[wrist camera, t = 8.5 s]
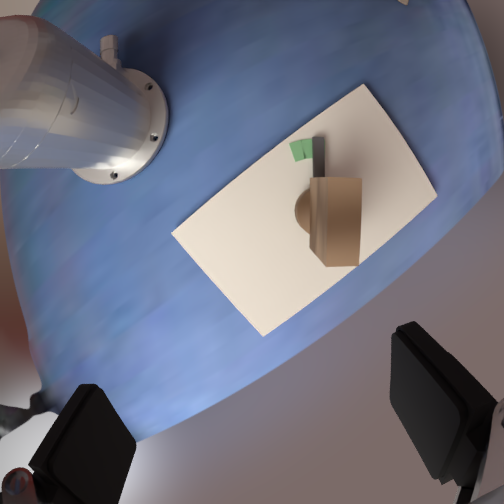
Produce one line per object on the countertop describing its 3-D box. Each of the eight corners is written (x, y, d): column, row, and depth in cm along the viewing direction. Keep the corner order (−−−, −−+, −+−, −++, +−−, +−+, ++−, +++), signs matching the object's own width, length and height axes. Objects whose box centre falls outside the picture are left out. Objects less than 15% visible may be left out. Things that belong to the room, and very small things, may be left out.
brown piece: (339, 242, 28) (371, 265, 20) (294, 242, 28) (311, 267, 20) (339, 139, 26) (373, 124, 18) (293, 137, 26) (311, 119, 18)
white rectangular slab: (262, 330, 32) (263, 337, 30) (175, 230, 29) (170, 233, 28) (430, 195, 28) (438, 196, 27) (358, 87, 26) (364, 83, 24)
